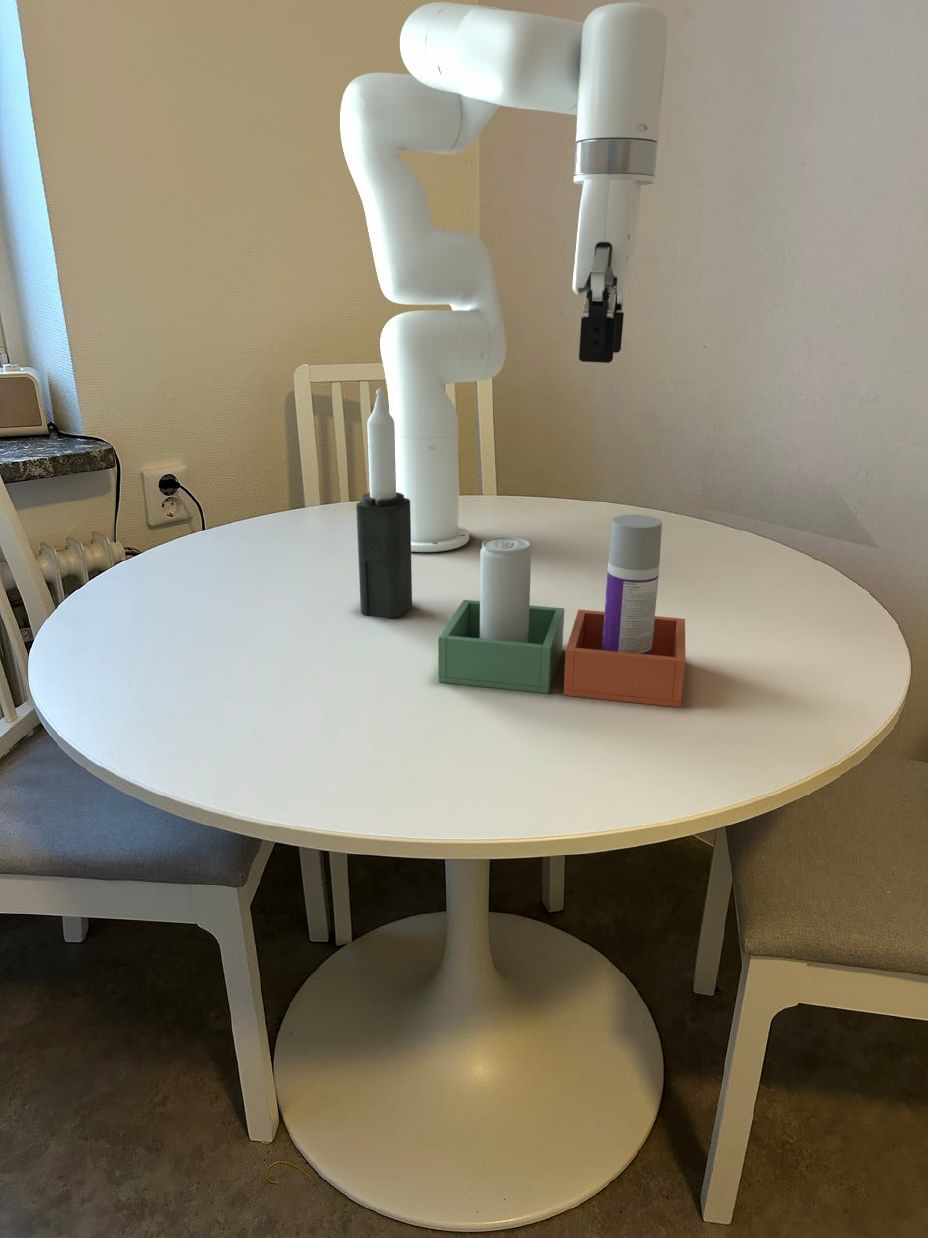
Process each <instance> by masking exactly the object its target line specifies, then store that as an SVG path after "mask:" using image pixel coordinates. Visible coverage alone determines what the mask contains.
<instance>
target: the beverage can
mask: <svg viewBox="0 0 928 1238" xmlns="http://www.w3.org/2000/svg"><path fill="white" fill-rule="evenodd" d="M530 543H531V542H529V541H528V540H526V539H524V538H521V537H513V536H496V537H490V538H487V539H485V540H483V541H482V542H481V546H482V547H481V549H480V555H479V557H480V559H479V560H480V561H479V562H480V563H479V564H480V567H479V568H480V569H479V577H480V578H479V589H480V590H479V601H480V639H488V640H499V641H509V642H520V643H528V631H529V605H531V603H530V602H531V599H530V598H531V572H532V570H531V569H532V550H531V548H530V547H531V544H530Z"/></svg>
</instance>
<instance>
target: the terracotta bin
mask: <svg viewBox="0 0 928 1238" xmlns="http://www.w3.org/2000/svg"><path fill="white" fill-rule="evenodd" d="M604 614H605V611H602V610H601V611H600V610H590V609H589V610H588V609H577V612H576V615H575V619H574V621H573V626H572V630H571V632H570V636H569V638H568V642H567V645H566V649H565V657H564V658H565V660H564V677H563V678H564V679H563V681H564V682H563V696H568V697H577V698H587V699H597V700H606V701H615V702H624V703H625V702H626V703H634V704H643V705H653V706H660V707H661V706H663V707H672V708H681V707H682V697H683V690H684V689H683V687H684V678H685V671H686V618H682V617H670V616H661V615H660V616H658V615H655V620H654V630H653V641H652V652H651V655H647V654H636V653H626V652H615V651H604V650H602V643H603V628H604Z"/></svg>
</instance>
